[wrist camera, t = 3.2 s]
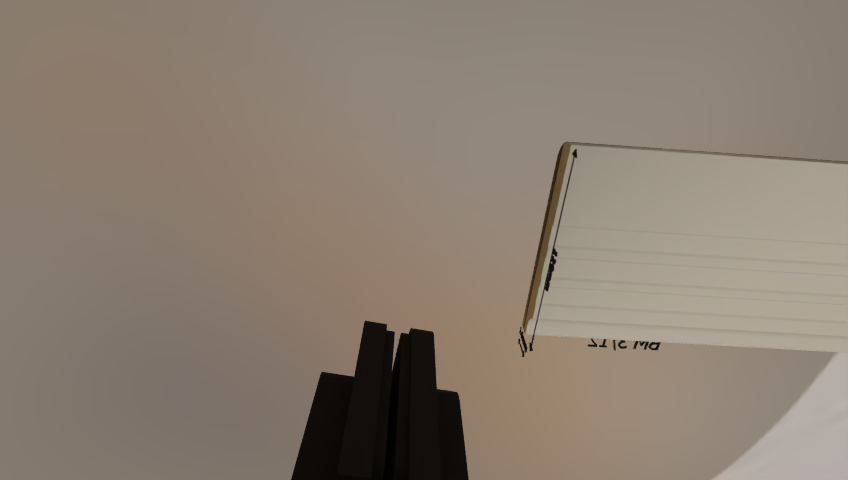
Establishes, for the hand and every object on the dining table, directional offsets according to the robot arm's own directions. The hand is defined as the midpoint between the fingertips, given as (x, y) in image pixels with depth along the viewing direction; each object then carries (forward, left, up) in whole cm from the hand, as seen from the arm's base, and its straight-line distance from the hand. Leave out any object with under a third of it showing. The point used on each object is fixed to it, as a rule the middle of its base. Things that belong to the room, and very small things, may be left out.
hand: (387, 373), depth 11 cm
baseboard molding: (-1, +22, -12) cm, 26 cm away
